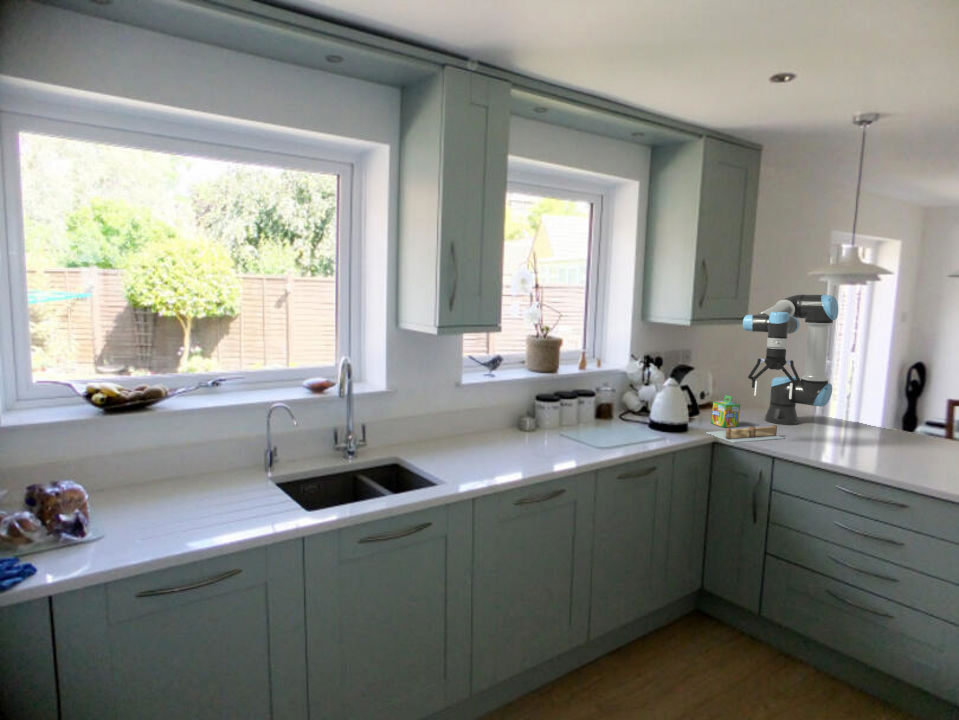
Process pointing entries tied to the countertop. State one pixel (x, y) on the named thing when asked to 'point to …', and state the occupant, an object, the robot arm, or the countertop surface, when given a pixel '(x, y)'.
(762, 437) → the card
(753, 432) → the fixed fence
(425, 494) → the countertop surface
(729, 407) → the chalk box
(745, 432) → the tan wooden bar
